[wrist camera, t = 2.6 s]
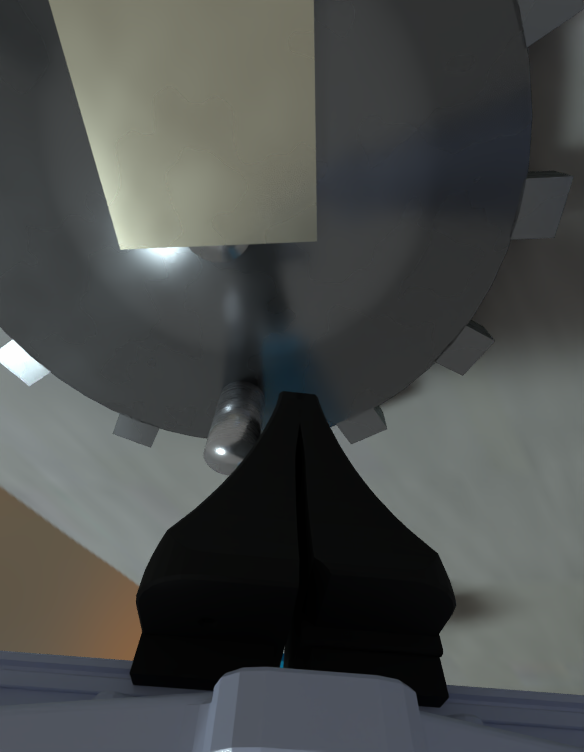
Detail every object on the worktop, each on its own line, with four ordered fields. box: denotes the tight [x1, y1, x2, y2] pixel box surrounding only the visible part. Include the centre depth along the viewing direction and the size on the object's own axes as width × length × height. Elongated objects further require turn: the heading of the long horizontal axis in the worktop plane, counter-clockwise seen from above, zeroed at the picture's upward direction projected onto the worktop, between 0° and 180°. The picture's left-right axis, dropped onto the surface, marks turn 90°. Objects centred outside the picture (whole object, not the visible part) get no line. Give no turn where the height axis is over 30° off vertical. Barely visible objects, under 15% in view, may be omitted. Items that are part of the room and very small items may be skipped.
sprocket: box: [0, 0, 584, 475], centre depth 10 cm, size 18×18×4 cm
